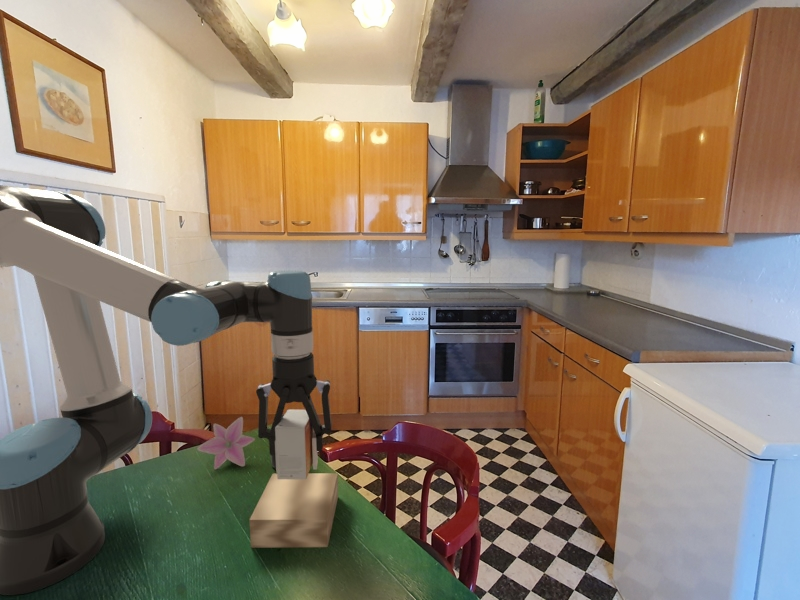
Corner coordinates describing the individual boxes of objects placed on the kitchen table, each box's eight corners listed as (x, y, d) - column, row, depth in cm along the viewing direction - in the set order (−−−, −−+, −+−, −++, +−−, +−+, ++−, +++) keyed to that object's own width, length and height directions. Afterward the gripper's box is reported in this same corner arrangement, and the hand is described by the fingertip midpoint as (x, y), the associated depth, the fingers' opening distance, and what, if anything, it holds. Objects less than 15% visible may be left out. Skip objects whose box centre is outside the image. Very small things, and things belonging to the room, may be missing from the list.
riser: (251, 549, 71) (249, 519, 70) (273, 498, 85) (272, 473, 84) (327, 548, 72) (327, 519, 71) (338, 498, 85) (337, 473, 84)
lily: (192, 469, 97) (191, 446, 91) (219, 431, 106) (219, 409, 101) (237, 484, 97) (239, 463, 91) (260, 445, 106) (263, 424, 101)
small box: (306, 480, 72) (304, 428, 71) (276, 480, 73) (274, 427, 71) (316, 456, 80) (314, 408, 79) (289, 456, 80) (287, 408, 79)
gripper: (233, 362, 68) (241, 483, 71) (345, 357, 71) (347, 473, 74) (243, 350, 75) (250, 460, 79) (344, 346, 78) (346, 452, 82)
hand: (297, 466), depth 76 cm, fingers closed on small box, 6 cm apart
